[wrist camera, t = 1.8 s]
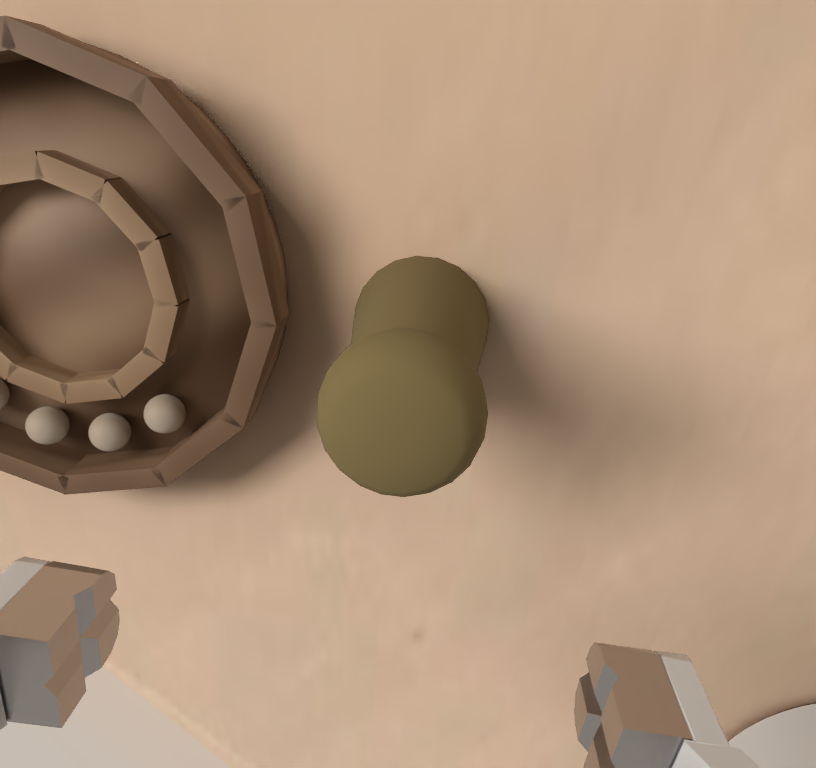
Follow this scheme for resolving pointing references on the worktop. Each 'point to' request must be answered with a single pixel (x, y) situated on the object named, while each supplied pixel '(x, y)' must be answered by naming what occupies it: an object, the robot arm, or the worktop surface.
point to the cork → (408, 380)
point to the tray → (124, 271)
